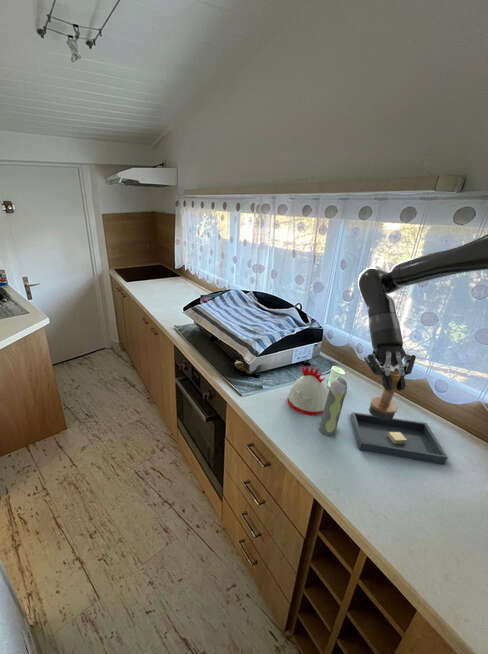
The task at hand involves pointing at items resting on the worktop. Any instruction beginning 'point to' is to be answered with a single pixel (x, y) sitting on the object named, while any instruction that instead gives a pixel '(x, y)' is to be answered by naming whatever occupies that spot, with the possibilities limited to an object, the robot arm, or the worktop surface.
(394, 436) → the cream flat block
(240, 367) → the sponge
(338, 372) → the light green cylinder
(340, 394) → the grey green rod
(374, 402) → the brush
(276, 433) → the worktop surface
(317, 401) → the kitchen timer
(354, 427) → the tray
